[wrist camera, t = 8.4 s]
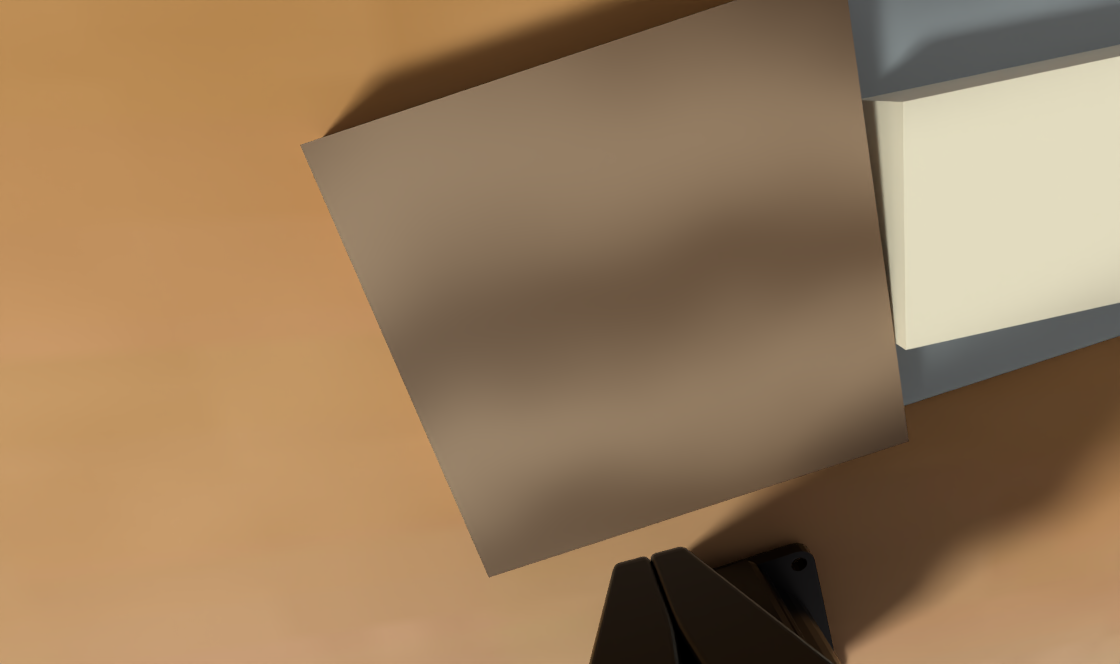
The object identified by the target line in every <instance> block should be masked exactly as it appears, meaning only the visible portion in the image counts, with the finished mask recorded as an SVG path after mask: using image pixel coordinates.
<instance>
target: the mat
mask: <svg viewBox="0 0 1120 664" xmlns="http://www.w3.org/2000/svg"><path fill="white" fill-rule="evenodd" d="M848 5H849V12H850V19H851V27H852V34H853V41H854V48H855V55H856V63H857V70H858V77H859V84H860V92H861V99H864V98H868V97H873V96H878V95H883V94H887V93H892V92H897V91H902V90H906V89H911V88H916V87H921V86H925V85H930V84H935V83H940V82H944V81H949V80H954V79H959V78H963V77H968V76H973V75H978V74H982V73H987V72H992V71H997V70H1001V69H1006V68H1011V67H1016V66H1020V65H1025V64H1030V63H1035V62H1039V61H1044V60H1049V59H1054V58H1058V57H1063V56H1068V55H1072V54H1077V53H1082V52H1087V51H1091V50H1096V49H1101V48H1106V47H1110V46H1115V45H1120V0H848ZM1117 336H1120V303H1115V304H1111V305H1106V306H1102V307H1097V308H1093V309H1088V310H1084V311H1079V312H1075V313H1070V314H1066V315H1061V316H1057V317H1052V318H1048V319H1043V320H1039V321H1034V322H1030V323H1025V324H1021V325H1016V326H1012V327H1007V328H1003V329H998V330H994V331H989V332H985V333H980V334H976V335H971V336H967V337H962V338H958V339H953V340H949V341H944V342H940V343H935V344H931V345H926V346H922V347H917V348H913V349H908V350H905V349H904V348H902V347H900V346H899V345H897V344H896V343H895V345H896V352H897V360H898V367H899V374H900V381H901V389H902V396H903V403H904V406H905V405H908V404H911V403H914V402H917V401H921V400H924V399H927V398H930V397H933V396H936V395H939V394H942V393H945V392H948V391H951V390H954V389H957V388H961V387H964V386H967V385H970V384H973V383H976V382H979V381H982V380H985V379H988V378H991V377H994V376H997V375H1001V374H1004V373H1007V372H1010V371H1013V370H1016V369H1019V368H1022V367H1025V366H1028V365H1031V364H1034V363H1037V362H1041V361H1044V360H1047V359H1050V358H1053V357H1056V356H1059V355H1062V354H1065V353H1068V352H1071V351H1074V350H1077V349H1081V348H1084V347H1087V346H1090V345H1093V344H1096V343H1099V342H1102V341H1105V340H1108V339H1111V338H1114V337H1117Z"/></svg>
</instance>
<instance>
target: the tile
mask: <svg viewBox="0 0 1120 664" xmlns="http://www.w3.org/2000/svg"><path fill="white" fill-rule="evenodd" d="M862 106H863V113H864V121H865V128H866V135H867V142H868V150H869V157H870V164H871V171H872V179H873V186H874V193H875V200H876V208H877V215H878V222H879V229H880V237H881V244H882V251H883V258H884V265H885V273H886V280H887V287H888V294H889V302H890V309H891V316H892V323H893V331H894V338H895V343H896V344H897V345H899V346H900V347H902V348H904V349H905V350H908V349H913V348H917V347H922V346H926V345H931V344H935V343H940V342H944V341H949V340H953V339H958V338H962V337H967V336H971V335H976V334H980V333H985V332H989V331H994V330H998V329H1003V328H1007V327H1012V326H1016V325H1021V324H1025V323H1030V322H1034V321H1039V320H1043V319H1048V318H1052V317H1057V316H1061V315H1066V314H1070V313H1075V312H1079V311H1084V310H1088V309H1093V308H1097V307H1102V306H1106V305H1111V304H1115V303H1120V45H1115V46H1110V47H1106V48H1101V49H1096V50H1091V51H1087V52H1082V53H1077V54H1072V55H1068V56H1063V57H1058V58H1054V59H1049V60H1044V61H1039V62H1035V63H1030V64H1025V65H1020V66H1016V67H1011V68H1006V69H1001V70H997V71H992V72H987V73H982V74H978V75H973V76H968V77H963V78H959V79H954V80H949V81H944V82H940V83H935V84H930V85H925V86H921V87H916V88H911V89H906V90H902V91H897V92H892V93H887V94H883V95H878V96H873V97H868V98H864V99H862Z"/></svg>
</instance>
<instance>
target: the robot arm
mask: <svg viewBox="0 0 1120 664" xmlns="http://www.w3.org/2000/svg"><path fill="white" fill-rule="evenodd" d="M797 558H800V560H799V561H797V562H795V563H792V562H793V561H794V560H795V559H797ZM589 664H841V662H840V661H839V659H838V658H837V656H836V654H835V653H834V649H833V644H832V640H831V635H830V630H829V626H828V621H827V616H826V611H825V607H824V602H823V597H822V593H821V588H820V583H819V578H818V574H817V569H816V564H815V560H814V558H813V556H812V554H811V553H810V551H809V550H808V548H807V547H806V546H804V545H803V544H799V543H794V544H790V545H786V546H783V547H780V548H777V549H774V550H771V551H768V552H765V553H762V554H759V555H756V556H752V557H749V558H746V559H743V560H740V561H737V562H734V563H731V564H728V565H725V566H721V567H718V568H715V569H712V568H711V567H709V566H708V565H707V564H705V563H704V562H703V561H702V560H700V559H699V558H698V557H696V556H695V555H694V554H693V553H691V552H690V551H689V550H687V549H686V548H683V547H677V548H673V549H670V550H666V551H662V552H658V553H655V554H653V555H652V556H651V562H650V560H649V559H648V558H647V557H639V558H636V559H632V560H628V561H624V562H621V563H618V564H616V565H615V567H614V569H613V572H612V576H611V580H610V584H609V588H608V592H607V595H606V599H605V603H604V607H603V611H602V615H601V619H600V623H599V627H598V631H597V635H596V639H595V643H594V647H593V651H592V654H591V658H590V662H589Z"/></svg>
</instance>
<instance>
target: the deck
mask: <svg viewBox="0 0 1120 664" xmlns="http://www.w3.org/2000/svg"><path fill="white" fill-rule="evenodd" d="M301 148H302V150H303V152H304V155H305V157H306V159H307V162H308V164H309V166H310V168H311V171H312V173H313V175H314V178H315V180H316V182H317V184H318V187H319V189H320V191H321V194H322V196H323V198H324V201H325V203H326V205H327V207H328V210H329V212H330V214H331V217H332V219H333V221H334V223H335V226H336V228H337V230H338V233H339V235H340V237H341V239H342V242H343V244H344V246H345V249H346V251H347V253H348V256H349V258H350V260H351V262H352V265H353V267H354V269H355V272H356V274H357V276H358V278H359V281H360V283H361V285H362V288H363V290H364V292H365V295H366V297H367V299H368V301H369V304H370V306H371V308H372V311H373V313H374V315H375V317H376V320H377V322H378V324H379V327H380V329H381V331H382V333H383V336H384V338H385V340H386V343H387V345H388V347H389V350H390V352H391V354H392V356H393V359H394V361H395V363H396V366H397V368H398V370H399V372H400V375H401V377H402V379H403V382H404V384H405V386H406V389H407V391H408V393H409V395H410V398H411V400H412V402H413V405H414V407H415V409H416V411H417V414H418V416H419V418H420V421H421V423H422V425H423V427H424V430H425V432H426V434H427V437H428V439H429V441H430V444H431V446H432V448H433V450H434V453H435V455H436V457H437V460H438V462H439V464H440V466H441V469H442V471H443V473H444V476H445V478H446V480H447V483H448V485H449V487H450V489H451V492H452V494H453V496H454V499H455V501H456V503H457V505H458V508H459V510H460V512H461V515H462V517H463V519H464V521H465V524H466V526H467V528H468V531H469V533H470V535H471V538H472V540H473V542H474V544H475V547H476V549H477V551H478V554H479V556H480V558H481V560H482V563H483V565H484V567H485V570H486V572H487V574H488V577H492V576H495V575H498V574H501V573H504V572H507V571H510V570H513V569H516V568H519V567H523V566H526V565H529V564H532V563H535V562H538V561H541V560H544V559H547V558H550V557H553V556H556V555H560V554H563V553H566V552H569V551H572V550H575V549H578V548H581V547H584V546H587V545H590V544H593V543H597V542H600V541H603V540H606V539H609V538H612V537H615V536H618V535H621V534H624V533H627V532H630V531H634V530H637V529H640V528H643V527H646V526H649V525H652V524H655V523H658V522H661V521H664V520H667V519H671V518H674V517H677V516H680V515H683V514H686V513H689V512H692V511H695V510H698V509H701V508H704V507H708V506H711V505H714V504H717V503H720V502H723V501H726V500H729V499H732V498H735V497H738V496H741V495H745V494H748V493H751V492H754V491H757V490H760V489H763V488H766V487H769V486H772V485H775V484H778V483H782V482H785V481H788V480H791V479H794V478H797V477H800V476H803V475H806V474H809V473H812V472H815V471H819V470H822V469H825V468H828V467H831V466H834V465H837V464H840V463H843V462H846V461H849V460H852V459H856V458H859V457H862V456H865V455H868V454H871V453H874V452H877V451H880V450H883V449H886V448H889V447H893V446H896V445H899V444H902V443H905V442H908V441H909V439H908V432H907V425H906V418H905V410H904V403H903V396H902V389H901V381H900V374H899V367H898V360H897V352H896V345H895V338H894V331H893V323H892V316H891V309H890V302H889V294H888V287H887V280H886V273H885V265H884V258H883V251H882V244H881V237H880V229H879V222H878V215H877V208H876V200H875V193H874V186H873V179H872V171H871V164H870V157H869V150H868V142H867V135H866V128H865V121H864V113H863V106H862V99H861V92H860V84H859V77H858V70H857V63H856V55H855V48H854V41H853V34H852V27H851V19H850V12H849V5H848V0H735V1H732V2H729V3H726V4H723V5H720V6H717V7H714V8H711V9H708V10H705V11H702V12H699V13H696V14H693V15H690V16H687V17H684V18H681V19H678V20H675V21H672V22H668V23H665V24H662V25H659V26H656V27H653V28H650V29H647V30H644V31H641V32H638V33H635V34H632V35H629V36H626V37H623V38H620V39H617V40H614V41H611V42H608V43H605V44H602V45H599V46H596V47H593V48H590V49H587V50H584V51H581V52H578V53H575V54H572V55H569V56H566V57H563V58H560V59H557V60H554V61H551V62H548V63H545V64H542V65H539V66H536V67H533V68H530V69H527V70H524V71H521V72H518V73H515V74H512V75H509V76H506V77H503V78H500V79H497V80H494V81H491V82H488V83H485V84H482V85H479V86H476V87H473V88H470V89H467V90H464V91H461V92H458V93H455V94H452V95H449V96H446V97H443V98H440V99H437V100H434V101H431V102H428V103H425V104H422V105H419V106H416V107H413V108H410V109H407V110H404V111H401V112H398V113H395V114H392V115H389V116H386V117H383V118H380V119H377V120H374V121H371V122H368V123H365V124H362V125H359V126H356V127H353V128H350V129H347V130H344V131H341V132H338V133H335V134H332V135H329V136H326V137H323V138H320V139H317V140H314V141H311V142H308V143H305V144H302V145H301Z"/></svg>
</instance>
